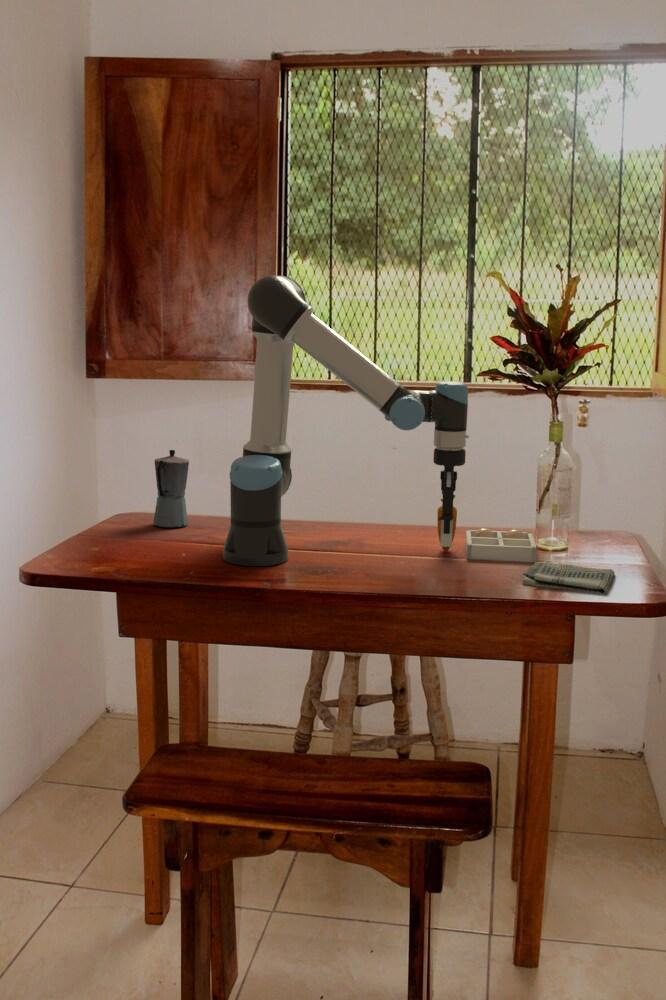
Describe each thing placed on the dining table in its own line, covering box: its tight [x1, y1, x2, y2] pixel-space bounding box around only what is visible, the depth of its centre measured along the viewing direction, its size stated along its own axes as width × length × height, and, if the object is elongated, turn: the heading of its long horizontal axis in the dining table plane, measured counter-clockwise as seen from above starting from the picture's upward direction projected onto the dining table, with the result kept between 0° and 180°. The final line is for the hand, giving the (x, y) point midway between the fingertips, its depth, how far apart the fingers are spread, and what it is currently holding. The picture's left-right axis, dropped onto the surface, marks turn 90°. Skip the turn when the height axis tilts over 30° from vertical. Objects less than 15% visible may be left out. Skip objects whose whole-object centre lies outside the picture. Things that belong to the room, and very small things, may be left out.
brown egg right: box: [505, 528, 524, 539], centre depth 258 cm, size 5×5×5 cm
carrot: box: [437, 490, 458, 553], centre depth 253 cm, size 5×5×15 cm
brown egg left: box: [475, 527, 493, 538], centre depth 259 cm, size 5×5×5 cm
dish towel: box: [521, 560, 615, 596], centre depth 232 cm, size 19×18×3 cm
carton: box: [465, 529, 537, 563], centre depth 255 cm, size 16×16×4 cm
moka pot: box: [153, 449, 190, 528], centre depth 275 cm, size 10×15×20 cm, turn 169°
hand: (446, 543), depth 254 cm, fingers closed on carrot, 5 cm apart
